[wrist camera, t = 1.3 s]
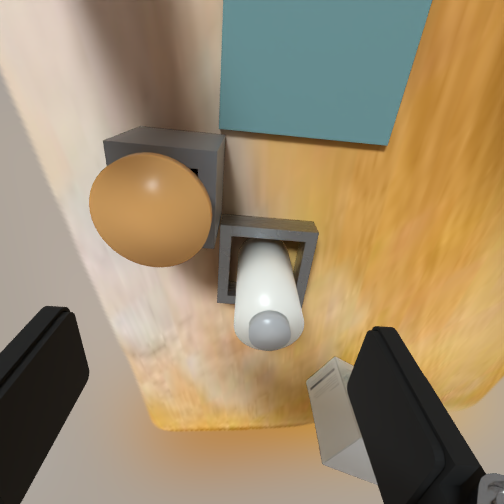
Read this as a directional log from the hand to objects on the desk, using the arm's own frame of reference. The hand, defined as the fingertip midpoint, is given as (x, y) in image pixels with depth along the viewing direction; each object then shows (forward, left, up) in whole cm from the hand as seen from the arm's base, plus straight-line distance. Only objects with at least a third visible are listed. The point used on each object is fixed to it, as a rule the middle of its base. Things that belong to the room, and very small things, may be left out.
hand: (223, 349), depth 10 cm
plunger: (+5, 0, -14) cm, 15 cm away
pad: (-5, -10, -19) cm, 22 cm away
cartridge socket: (-3, +8, -19) cm, 21 cm away
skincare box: (-17, +27, -20) cm, 37 cm away
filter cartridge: (-3, +8, -19) cm, 21 cm away
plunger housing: (+5, 0, -19) cm, 20 cm away
